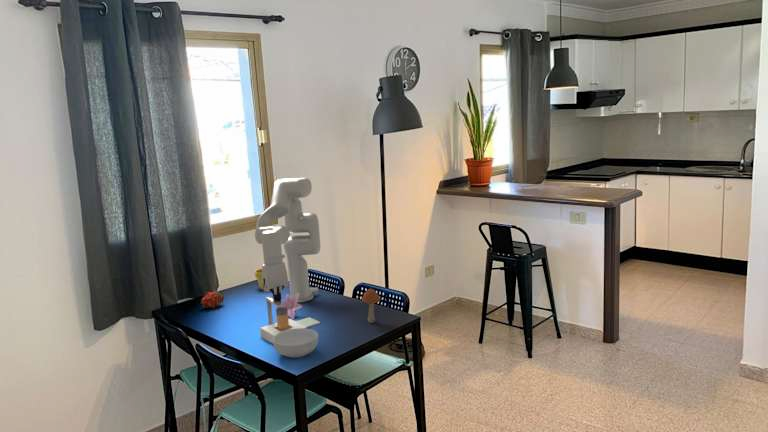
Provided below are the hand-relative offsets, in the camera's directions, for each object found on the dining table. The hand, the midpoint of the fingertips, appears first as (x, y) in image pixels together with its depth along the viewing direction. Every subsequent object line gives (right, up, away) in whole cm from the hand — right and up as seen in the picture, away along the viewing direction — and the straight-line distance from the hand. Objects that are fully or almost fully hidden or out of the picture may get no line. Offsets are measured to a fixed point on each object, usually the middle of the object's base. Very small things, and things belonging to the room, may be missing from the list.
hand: (277, 302), depth 247 cm
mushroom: (+40, -10, +6) cm, 41 cm away
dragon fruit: (-38, -8, +39) cm, 55 cm away
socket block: (+2, -13, -2) cm, 13 cm away
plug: (+4, -14, -4) cm, 15 cm away
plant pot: (-17, -2, +65) cm, 67 cm away
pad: (+11, -11, +9) cm, 17 cm away
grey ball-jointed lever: (-1, 0, -3) cm, 3 cm away
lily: (+2, -9, +21) cm, 23 cm away
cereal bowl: (+11, -17, -22) cm, 30 cm away
